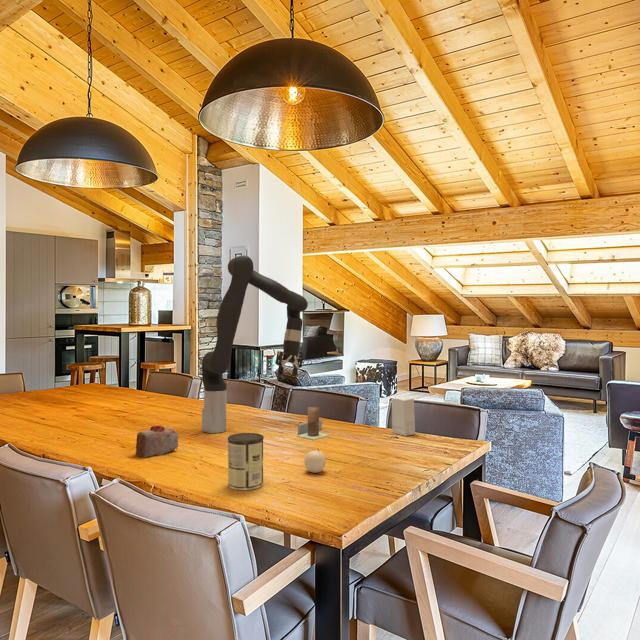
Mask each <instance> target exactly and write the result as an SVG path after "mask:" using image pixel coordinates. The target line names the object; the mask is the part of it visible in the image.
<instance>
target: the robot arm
mask: <svg viewBox="0 0 640 640" xmlns="http://www.w3.org/2000/svg"><path fill="white" fill-rule="evenodd" d="M227 271H228V273H229V274H230V276H231V281H230V283H229V287H228V289H227V290H226V292H225V295H224V296H223V298H222V300H221V302H220V305H219V308H218V312H217V316H216V335H217V337H216V343H215V347H214V349H213V351H208V352H206V353H205V354H204V356H203V357H202V360H201V361H202V362H201V380H202V384H203V408H201V431H202V432H204V433H208V434H218V433H223V432H227V388H228V387H227V382H226V381H225V379H224V376H223V374H225V373H226V372H227V371H228V369H229V367H230V365H231V359H232V351H233V345H234V340H235V337H236V333H237V330H238V325H239V322H240V318H241V313H242V309H243V304H244V301H245V297H246V291H247V289H248V285H249V284H250V285H251V286H253V287H255V288H257V289H258V290H260V291H261V292H263V293H265V294H266V295H267V296H270V297H271V298H272V299H274V300H276V301H277V302H279V303H282V304H285V305H286V316H287V317H286V319H287V321H286V327H285V332H284V337H283V345H282V350H283V351H281V350H278V351H277V352H276V358H275V363H274V364H275V366H278V369H277V370H278V371H277V375H278V376H284V375H283V373H284V366H285V365H286V364H287V363H290V364H291V365H292V375H291V376H292V377H294V378H295V377H297V376H298V373H299V372H298V371H299V369H301V368H302V367H303V356H304V355H303V354H300V353H299V352H300V349H301V347H300V346H301V341H302V330H303V319H302V318H301V313H303V312H304V311H306V310H307V308H308V306H309V303H308V301H307V299H306V298H305V297H304V296H302V295H301V294H299V293H296V292H295V291H293V290H290V289H289V288H287V287H286V286H284V285H283V284H281V283H280V282H278V281H277V280H274V279H272V278H270V277H267V276H265V275H262V274H261V273H259V272H258V271H256V270H254V262H253V260H252V259H251V257H250V256H248V255H239V256H236V257H234V258H231V260H229V262H228V264H227ZM298 353H299V354H298Z"/></svg>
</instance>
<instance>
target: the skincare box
mask: <svg viewBox="0 0 640 640" xmlns="http://www.w3.org/2000/svg"><path fill="white" fill-rule="evenodd" d="M415 418H416V417H415V398H412V397H411V398H410V397H404V396H398V397H392V398H391V423H392V424H391V427H392V428H391V429H392V434H397V435H399V436H400V435H401V436H405V437H407V436H414V435H416V422H415V421H416V419H415Z"/></svg>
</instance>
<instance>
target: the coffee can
mask: <svg viewBox="0 0 640 640" xmlns="http://www.w3.org/2000/svg"><path fill="white" fill-rule="evenodd" d="M227 451H228V452H227V456H228V457H227V459H228V461H227V465H228V466H227V467H228V468H227V469H228V473H227V476H228V477H227V478H228V480H227V483H228V484H227V487H228V488H230V489H232V490H235V491H252V490H253V491H254V490H257V489H260V488H262V487H263V486H264V435H262V434H261V433H257V432H256V433H255V432H240V433H239V432H238V433H234V434H231V435H228V436H227Z"/></svg>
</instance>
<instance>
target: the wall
mask: <svg viewBox="0 0 640 640" xmlns="http://www.w3.org/2000/svg"><path fill="white" fill-rule="evenodd" d="M320 429H321V430H323V419H319V431H321V430H320ZM305 433H308V422H304V423H300V424H297V435H301V434H305Z"/></svg>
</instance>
